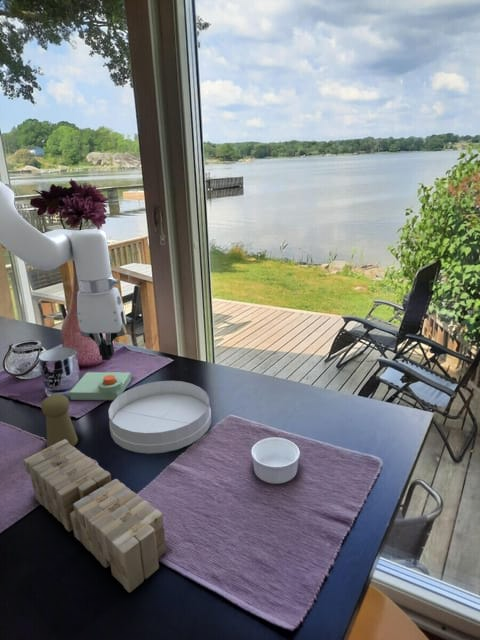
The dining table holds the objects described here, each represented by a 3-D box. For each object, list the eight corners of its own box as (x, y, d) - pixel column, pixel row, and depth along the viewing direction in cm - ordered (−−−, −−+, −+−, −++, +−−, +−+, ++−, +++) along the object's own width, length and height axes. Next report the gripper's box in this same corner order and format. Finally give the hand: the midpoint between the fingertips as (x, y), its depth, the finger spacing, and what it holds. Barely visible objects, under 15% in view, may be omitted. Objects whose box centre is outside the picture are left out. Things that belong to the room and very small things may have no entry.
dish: (144, 392, 111) (142, 375, 109) (226, 406, 104) (225, 387, 102) (88, 443, 92) (85, 423, 90) (184, 464, 84) (182, 442, 83)
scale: (70, 401, 108) (67, 387, 107) (88, 380, 119) (85, 366, 117) (119, 402, 107) (117, 387, 106) (132, 380, 118) (131, 366, 117)
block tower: (173, 562, 65) (72, 472, 83) (170, 518, 62) (66, 435, 80) (128, 601, 59) (31, 495, 77) (122, 554, 56) (22, 456, 74)
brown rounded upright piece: (84, 440, 93) (76, 394, 89) (60, 456, 88) (51, 408, 84) (65, 432, 96) (56, 387, 92) (41, 447, 91) (31, 401, 87)
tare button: (102, 385, 108) (101, 380, 107) (106, 380, 110) (105, 374, 110) (113, 385, 107) (112, 380, 107) (117, 380, 110) (116, 374, 110)
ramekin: (244, 462, 84) (244, 443, 83) (286, 451, 87) (286, 432, 86) (263, 492, 77) (263, 472, 75) (308, 479, 80) (308, 459, 78)
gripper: (133, 279, 103) (142, 351, 110) (71, 281, 104) (84, 352, 111) (123, 288, 96) (133, 364, 103) (57, 290, 97) (71, 365, 104)
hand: (107, 357), depth 107 cm, fingers closed
